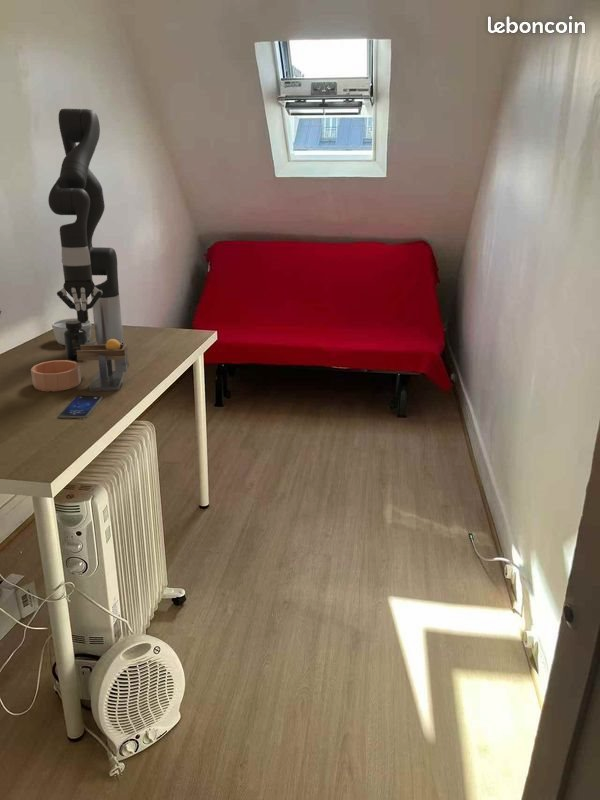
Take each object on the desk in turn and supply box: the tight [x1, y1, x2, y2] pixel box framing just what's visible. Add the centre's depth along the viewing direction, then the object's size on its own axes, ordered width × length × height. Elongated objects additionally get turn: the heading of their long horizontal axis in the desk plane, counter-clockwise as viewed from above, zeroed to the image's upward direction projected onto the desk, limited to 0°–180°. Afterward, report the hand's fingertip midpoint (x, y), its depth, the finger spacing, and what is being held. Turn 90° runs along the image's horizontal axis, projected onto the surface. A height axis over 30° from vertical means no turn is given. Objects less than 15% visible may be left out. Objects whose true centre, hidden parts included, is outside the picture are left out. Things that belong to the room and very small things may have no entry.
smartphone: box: [58, 394, 103, 420], centre depth 157 cm, size 7×1×15 cm
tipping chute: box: [76, 341, 130, 373], centre depth 176 cm, size 15×13×7 cm
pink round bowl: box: [30, 359, 82, 392], centre depth 172 cm, size 13×13×5 cm
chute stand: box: [88, 355, 126, 392], centre depth 173 cm, size 14×8×10 cm, turn 9°
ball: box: [106, 339, 120, 350], centre depth 171 cm, size 4×4×4 cm
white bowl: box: [51, 317, 92, 346], centre depth 213 cm, size 13×13×7 cm
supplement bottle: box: [64, 321, 87, 361], centre depth 194 cm, size 7×7×12 cm
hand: (83, 322), depth 176 cm, fingers closed
